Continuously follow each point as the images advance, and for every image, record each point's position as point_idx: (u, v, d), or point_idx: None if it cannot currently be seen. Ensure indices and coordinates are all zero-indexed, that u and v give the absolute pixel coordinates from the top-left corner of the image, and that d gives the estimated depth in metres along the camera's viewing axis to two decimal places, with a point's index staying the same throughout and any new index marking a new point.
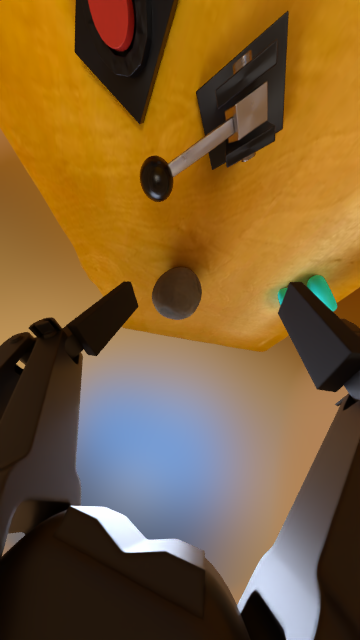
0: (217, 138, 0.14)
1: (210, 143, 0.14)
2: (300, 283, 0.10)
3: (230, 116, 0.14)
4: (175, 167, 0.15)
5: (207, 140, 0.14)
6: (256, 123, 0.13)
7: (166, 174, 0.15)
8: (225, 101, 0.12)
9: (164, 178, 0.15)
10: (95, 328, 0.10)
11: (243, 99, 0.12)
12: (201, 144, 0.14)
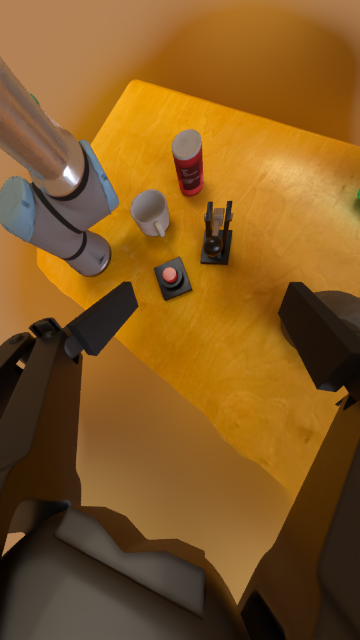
0: (217, 223, 0.30)
1: (217, 225, 0.30)
2: (300, 283, 0.10)
3: (214, 221, 0.31)
4: None
5: (215, 225, 0.30)
6: (222, 210, 0.31)
7: (213, 235, 0.27)
8: (209, 218, 0.30)
9: (214, 235, 0.26)
10: (95, 328, 0.10)
11: (213, 213, 0.31)
12: (214, 227, 0.30)
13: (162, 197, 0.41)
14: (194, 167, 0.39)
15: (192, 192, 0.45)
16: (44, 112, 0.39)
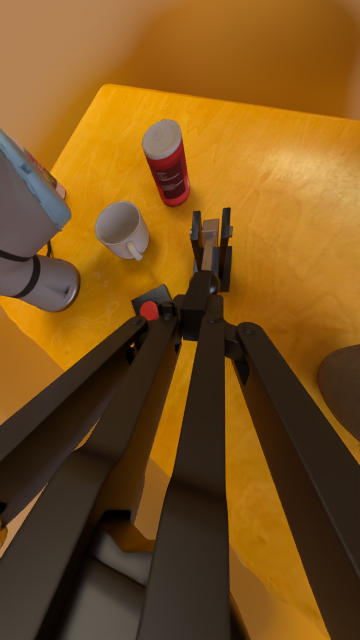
0: (209, 243, 0.19)
1: (209, 247, 0.19)
2: (208, 272, 0.13)
3: (205, 239, 0.21)
4: (205, 268, 0.17)
5: (206, 248, 0.19)
6: (216, 222, 0.20)
7: (204, 270, 0.16)
8: (197, 235, 0.20)
9: (205, 271, 0.16)
10: None
11: (202, 228, 0.20)
12: (205, 251, 0.19)
13: (136, 210, 0.31)
14: (174, 168, 0.29)
15: (176, 201, 0.35)
16: None
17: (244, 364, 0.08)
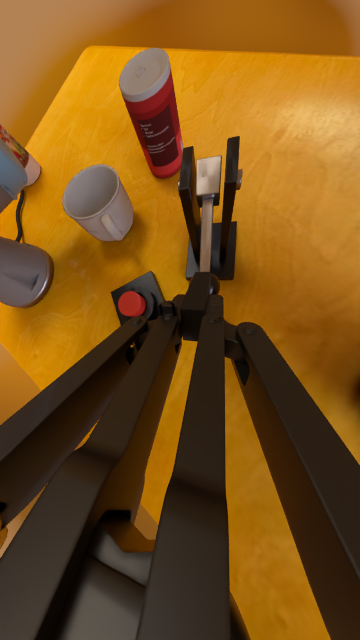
0: (207, 218, 0.15)
1: (207, 225, 0.15)
2: (208, 272, 0.13)
3: (202, 201, 0.15)
4: (204, 266, 0.16)
5: (204, 229, 0.15)
6: (217, 169, 0.13)
7: None
8: (188, 181, 0.13)
9: None
10: None
11: (196, 186, 0.14)
12: (203, 235, 0.15)
13: (114, 176, 0.25)
14: (161, 116, 0.22)
15: (167, 170, 0.29)
16: None
17: (244, 364, 0.08)
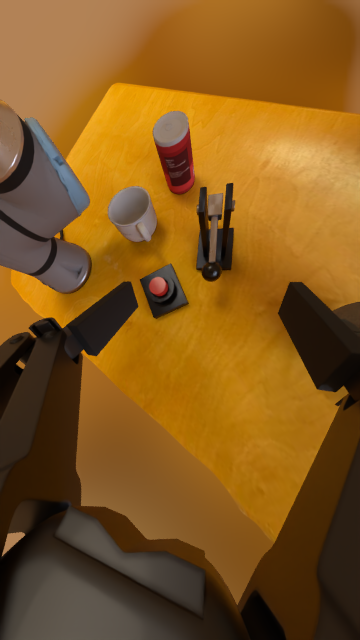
0: (214, 228, 0.24)
1: (214, 233, 0.24)
2: (300, 283, 0.10)
3: (211, 218, 0.24)
4: (212, 258, 0.26)
5: (212, 234, 0.25)
6: (220, 200, 0.22)
7: (211, 265, 0.25)
8: (204, 207, 0.22)
9: (211, 267, 0.25)
10: (95, 328, 0.10)
11: (208, 210, 0.23)
12: (211, 238, 0.25)
13: (145, 194, 0.34)
14: (181, 155, 0.31)
15: (182, 188, 0.38)
16: None
17: None
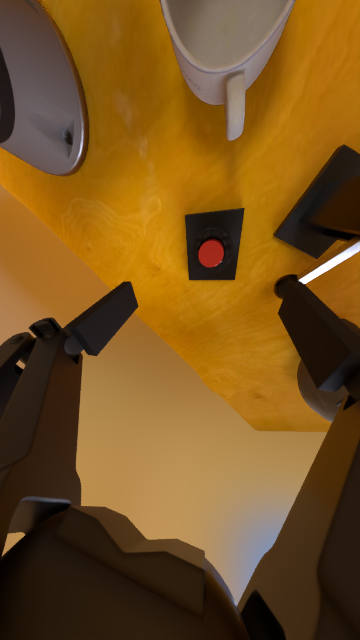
0: (354, 250, 0.14)
1: (345, 256, 0.15)
2: (300, 283, 0.10)
3: None
4: (305, 279, 0.18)
5: (339, 256, 0.15)
6: None
7: None
8: None
9: None
10: (95, 328, 0.10)
11: None
12: (332, 260, 0.15)
13: None
14: None
15: None
16: None
17: None
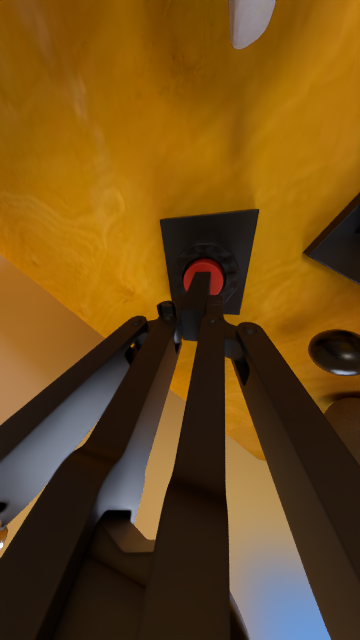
0: None
1: None
2: (208, 272, 0.13)
3: None
4: None
5: None
6: None
7: (358, 368, 0.10)
8: None
9: (354, 371, 0.10)
10: None
11: None
12: None
13: None
14: None
15: None
16: None
17: (244, 364, 0.08)
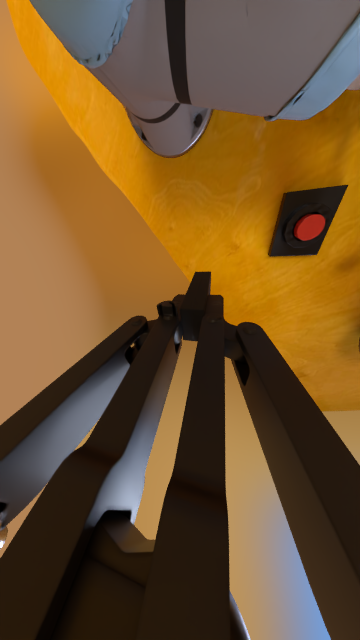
0: None
1: None
2: (208, 272, 0.13)
3: None
4: None
5: None
6: None
7: None
8: None
9: None
10: None
11: None
12: None
13: None
14: None
15: None
16: None
17: (244, 364, 0.08)
